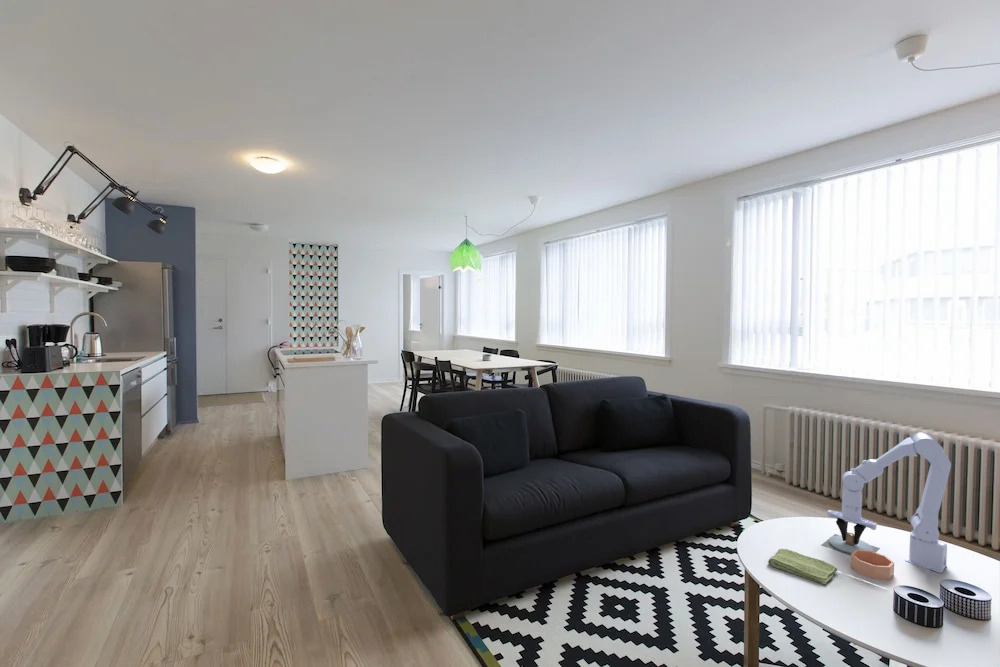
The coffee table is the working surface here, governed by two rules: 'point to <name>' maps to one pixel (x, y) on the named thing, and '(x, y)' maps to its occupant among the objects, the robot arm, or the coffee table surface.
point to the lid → (849, 543)
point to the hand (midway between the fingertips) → (850, 541)
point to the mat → (842, 551)
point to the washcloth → (802, 566)
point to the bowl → (872, 564)
